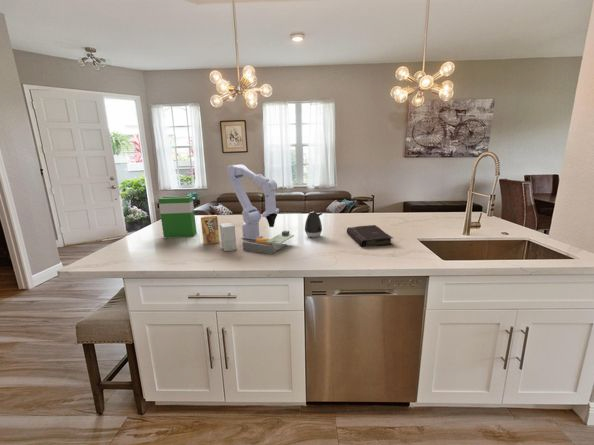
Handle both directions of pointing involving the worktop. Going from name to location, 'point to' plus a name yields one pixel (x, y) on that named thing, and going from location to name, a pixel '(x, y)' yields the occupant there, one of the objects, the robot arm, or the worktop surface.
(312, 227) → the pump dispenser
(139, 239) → the worktop surface
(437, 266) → the worktop surface
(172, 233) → the green cereal box
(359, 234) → the diary
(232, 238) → the small box
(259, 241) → the cylinder
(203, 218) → the candy box
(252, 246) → the large grey box
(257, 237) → the robot arm
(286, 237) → the cover
